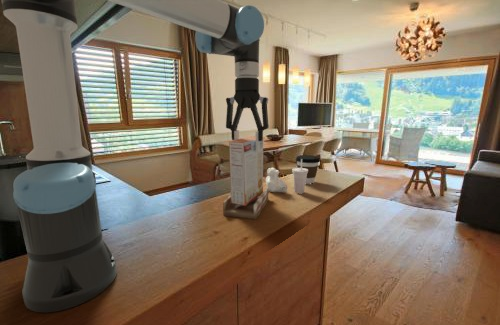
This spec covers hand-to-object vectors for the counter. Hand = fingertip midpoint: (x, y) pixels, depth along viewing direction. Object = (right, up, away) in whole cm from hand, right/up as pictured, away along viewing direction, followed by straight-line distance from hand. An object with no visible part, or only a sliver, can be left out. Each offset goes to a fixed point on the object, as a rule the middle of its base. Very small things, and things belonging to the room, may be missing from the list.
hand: (247, 150), depth 84 cm
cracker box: (0, -17, +4) cm, 17 cm away
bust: (+11, -16, +21) cm, 29 cm away
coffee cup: (+27, -13, +32) cm, 44 cm away
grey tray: (0, -20, +4) cm, 20 cm away
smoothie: (+21, -16, +19) cm, 33 cm away
